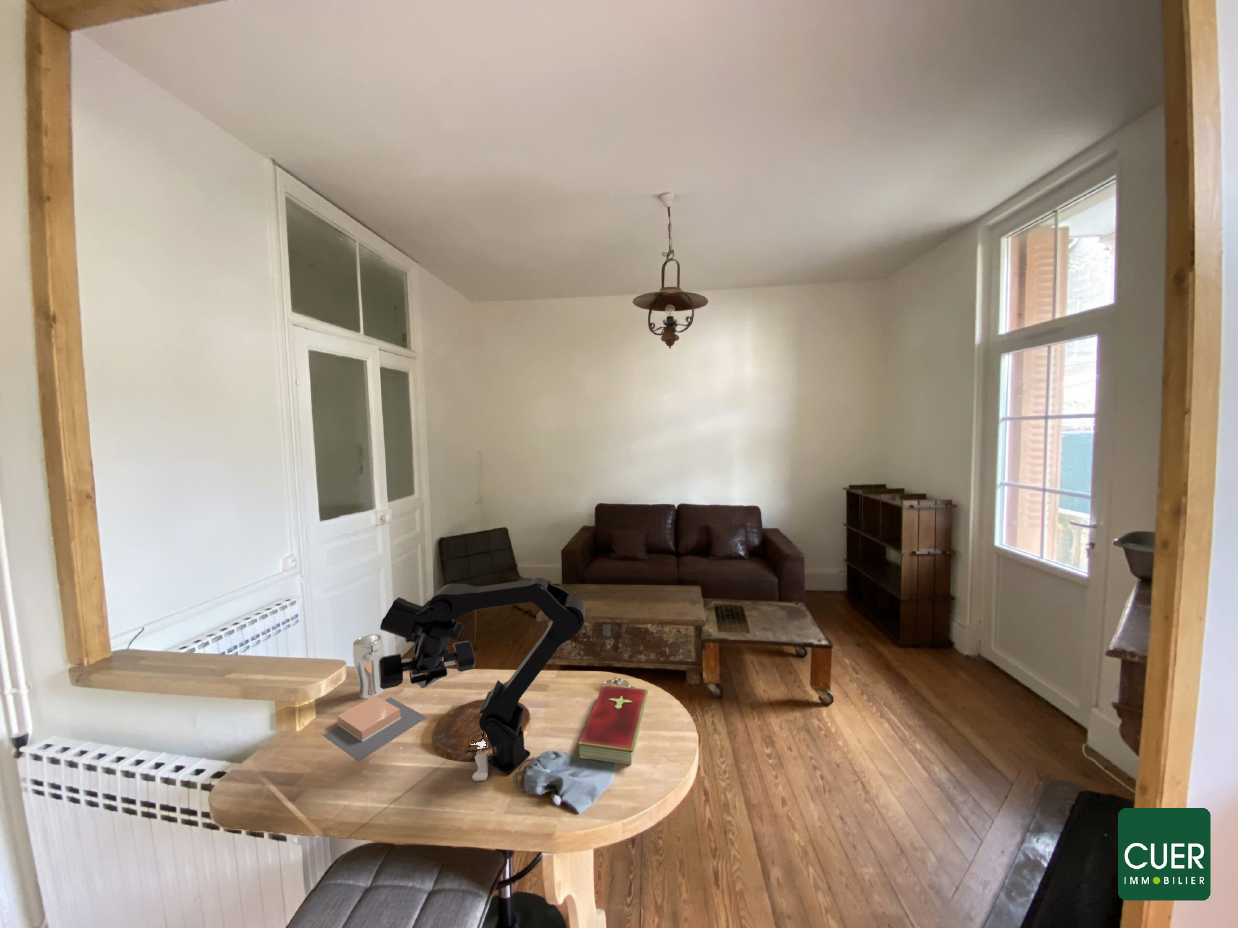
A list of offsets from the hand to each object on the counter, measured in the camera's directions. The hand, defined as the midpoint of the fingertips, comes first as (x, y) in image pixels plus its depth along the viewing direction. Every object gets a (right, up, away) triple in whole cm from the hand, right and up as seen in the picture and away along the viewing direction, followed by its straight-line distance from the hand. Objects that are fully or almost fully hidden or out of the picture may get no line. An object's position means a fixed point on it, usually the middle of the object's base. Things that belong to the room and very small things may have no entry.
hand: (423, 685), depth 97 cm
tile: (-12, -11, +4) cm, 17 cm away
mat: (-14, -13, +6) cm, 20 cm away
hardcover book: (+43, -12, +3) cm, 45 cm away
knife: (+9, -13, +3) cm, 16 cm away
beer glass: (-23, -12, +20) cm, 33 cm away
